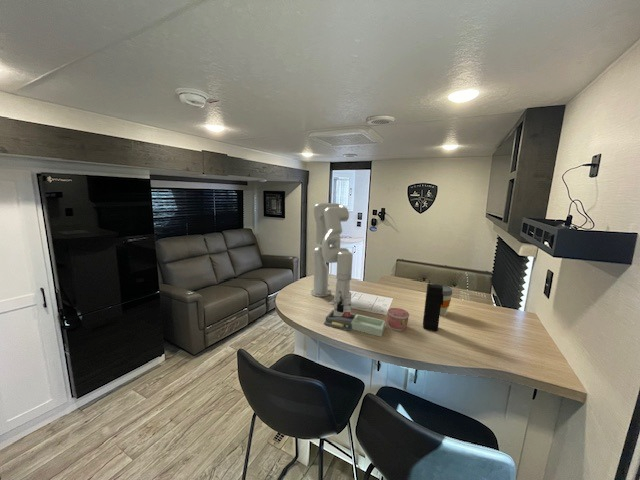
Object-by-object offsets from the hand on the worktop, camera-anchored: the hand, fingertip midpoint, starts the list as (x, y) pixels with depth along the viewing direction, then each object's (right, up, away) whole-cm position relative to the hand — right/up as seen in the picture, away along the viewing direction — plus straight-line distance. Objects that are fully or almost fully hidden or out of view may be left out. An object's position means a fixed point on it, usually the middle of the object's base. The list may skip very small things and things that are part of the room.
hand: (342, 308), depth 131 cm
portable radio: (+45, -9, -2) cm, 46 cm away
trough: (+13, -8, -4) cm, 16 cm away
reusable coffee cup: (+57, -7, +17) cm, 60 cm away
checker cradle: (0, -7, +1) cm, 7 cm away
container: (+28, -9, -2) cm, 29 cm away
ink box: (0, -3, +1) cm, 3 cm away
